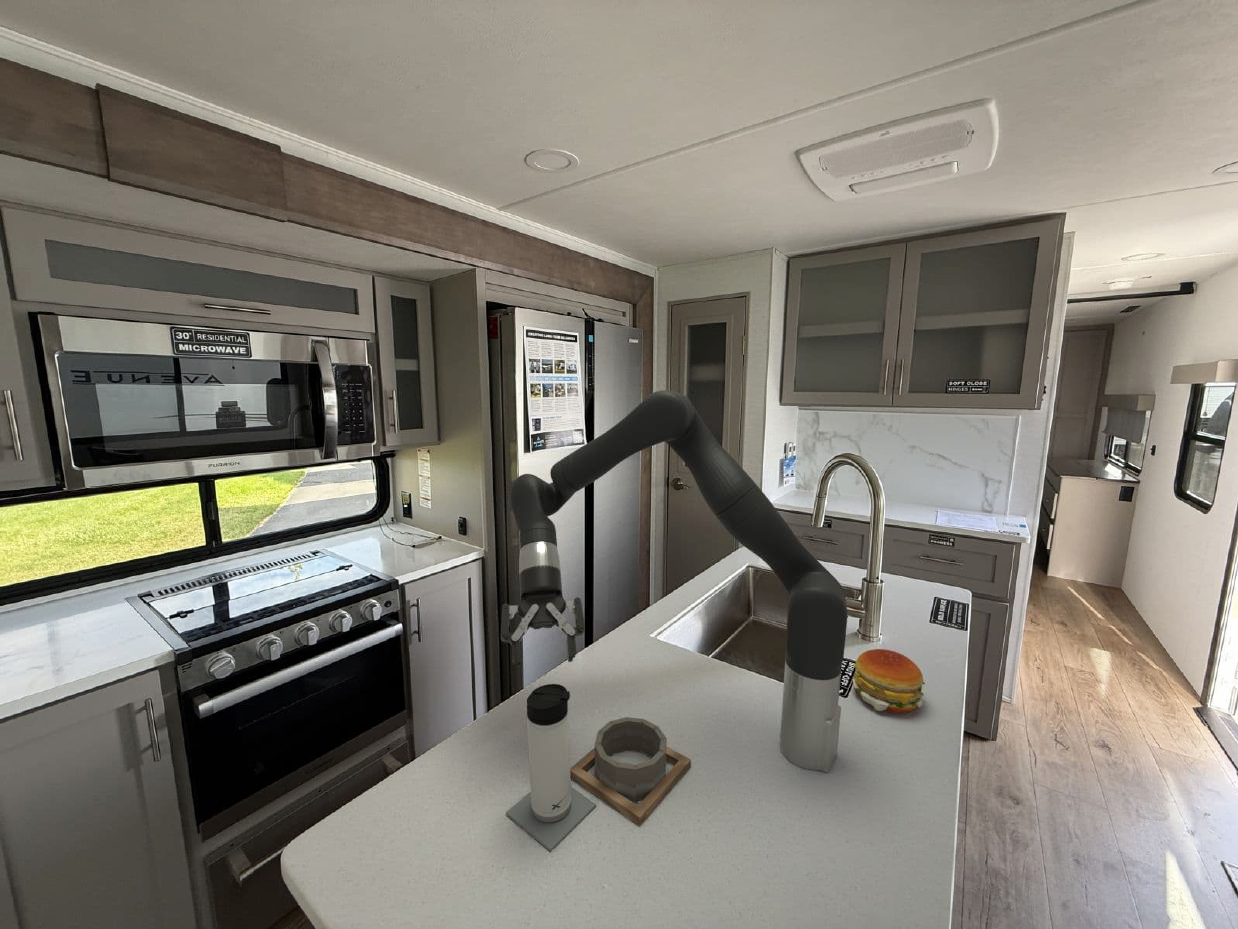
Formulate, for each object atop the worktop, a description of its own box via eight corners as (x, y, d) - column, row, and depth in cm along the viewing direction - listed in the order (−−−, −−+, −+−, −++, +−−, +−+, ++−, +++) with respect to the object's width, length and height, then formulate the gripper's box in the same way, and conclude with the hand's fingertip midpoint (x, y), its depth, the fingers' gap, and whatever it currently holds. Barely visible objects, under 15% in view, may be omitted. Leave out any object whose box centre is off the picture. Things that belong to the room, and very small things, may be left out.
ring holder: (690, 767, 88) (691, 736, 87) (639, 826, 77) (640, 791, 76) (623, 729, 98) (623, 701, 96) (568, 777, 86) (568, 746, 85)
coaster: (596, 806, 80) (596, 804, 80) (550, 852, 73) (550, 849, 72) (552, 775, 86) (552, 773, 86) (505, 814, 79) (505, 812, 79)
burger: (928, 697, 108) (934, 654, 106) (913, 730, 98) (919, 683, 96) (862, 672, 117) (865, 632, 115) (841, 700, 107) (845, 657, 105)
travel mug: (566, 827, 76) (562, 708, 72) (525, 820, 77) (519, 702, 74) (578, 793, 82) (574, 682, 78) (539, 787, 83) (534, 677, 80)
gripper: (499, 566, 88) (500, 662, 79) (580, 561, 91) (589, 653, 82) (501, 583, 95) (502, 673, 85) (576, 577, 97) (585, 664, 88)
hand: (545, 663), depth 84 cm, fingers open, 8 cm apart
